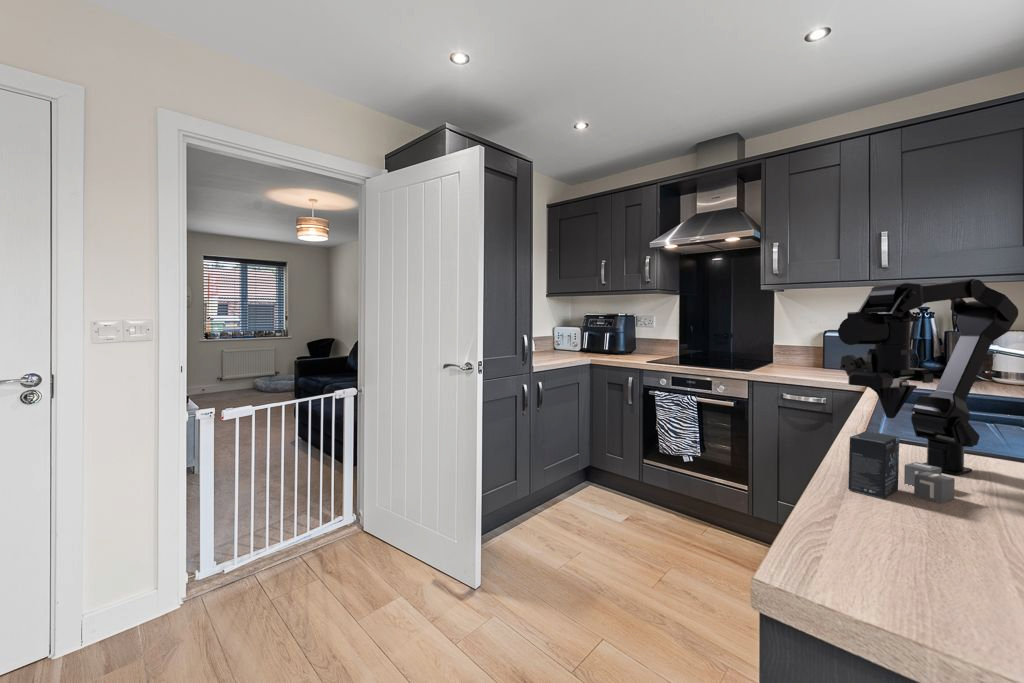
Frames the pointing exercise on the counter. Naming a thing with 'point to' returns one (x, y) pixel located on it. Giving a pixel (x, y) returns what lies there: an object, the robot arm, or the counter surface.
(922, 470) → the marked cube one
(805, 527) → the counter surface
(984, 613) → the counter surface
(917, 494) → the marked cube seven
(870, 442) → the box
